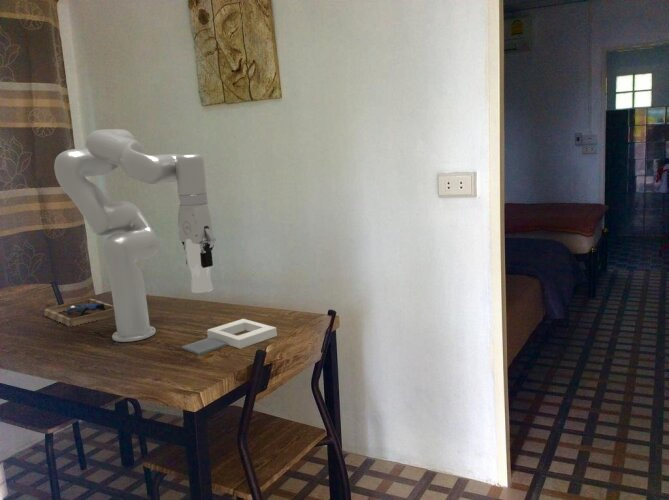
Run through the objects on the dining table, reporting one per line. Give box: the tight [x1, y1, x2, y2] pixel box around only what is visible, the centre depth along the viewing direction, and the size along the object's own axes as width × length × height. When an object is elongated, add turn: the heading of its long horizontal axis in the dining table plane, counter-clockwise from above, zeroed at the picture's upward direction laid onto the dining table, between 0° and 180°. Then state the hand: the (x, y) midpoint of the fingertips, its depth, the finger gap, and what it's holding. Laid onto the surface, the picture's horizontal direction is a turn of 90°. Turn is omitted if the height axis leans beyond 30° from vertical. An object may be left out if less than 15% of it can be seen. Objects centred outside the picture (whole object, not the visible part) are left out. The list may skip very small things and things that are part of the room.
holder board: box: [206, 318, 278, 350], centre depth 176 cm, size 16×13×2 cm
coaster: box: [181, 337, 228, 356], centre depth 169 cm, size 9×9×1 cm
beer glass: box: [184, 238, 214, 294], centre depth 166 cm, size 7×7×15 cm
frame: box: [43, 297, 115, 328], centre depth 213 cm, size 24×17×2 cm
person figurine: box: [66, 303, 105, 317], centre depth 213 cm, size 11×4×18 cm
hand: (199, 264), depth 166 cm, fingers closed on beer glass, 6 cm apart
